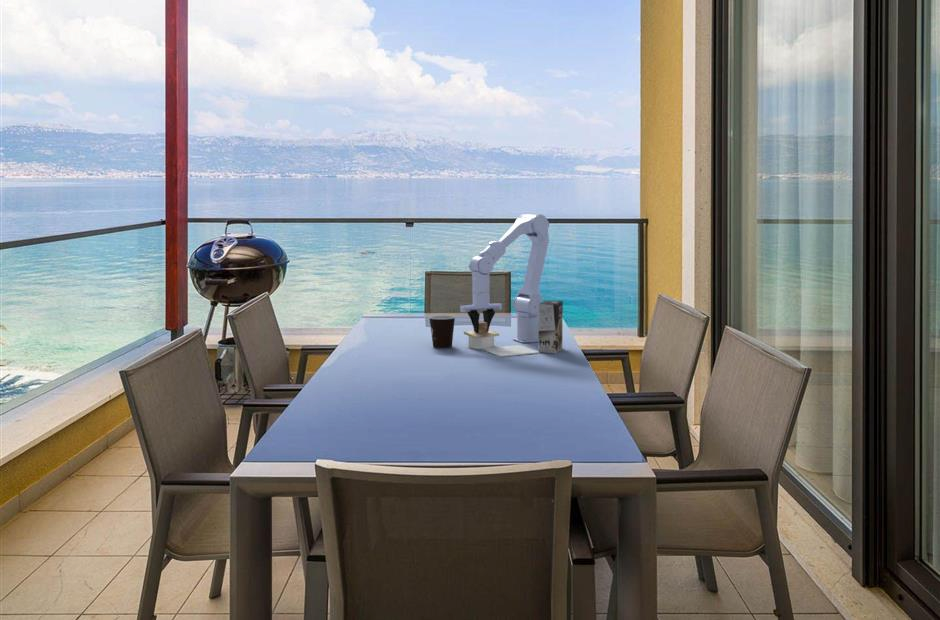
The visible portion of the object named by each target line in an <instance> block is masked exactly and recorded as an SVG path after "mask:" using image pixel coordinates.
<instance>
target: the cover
mask: <svg viewBox="0 0 940 620" xmlns="http://www.w3.org/2000/svg"><path fill="white" fill-rule="evenodd" d="M463 334H464V335H466V336H468V337H469V336H471V337H473V338H481V337H493V336H494V337H500V333H498V332H496V331H493V330H490V329H489V331H488V332H487V322H484V320H482V321H479V332H478V333H476V332H474V330H468V331H467V330H466V331H463Z"/></svg>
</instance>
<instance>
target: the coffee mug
mask: <svg viewBox="0 0 940 620" xmlns="http://www.w3.org/2000/svg"><path fill="white" fill-rule="evenodd" d="M428 317H429V324H430V325H429V326H430V334H431V340H432V341H431V342H432V347H433V348H434V349H449V348H452V347H453V341H454V340H453V339H454V329H455V321H456V320H455V319H456V317H455V316H453V315H441V314H440V315H432V316H428Z"/></svg>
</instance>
